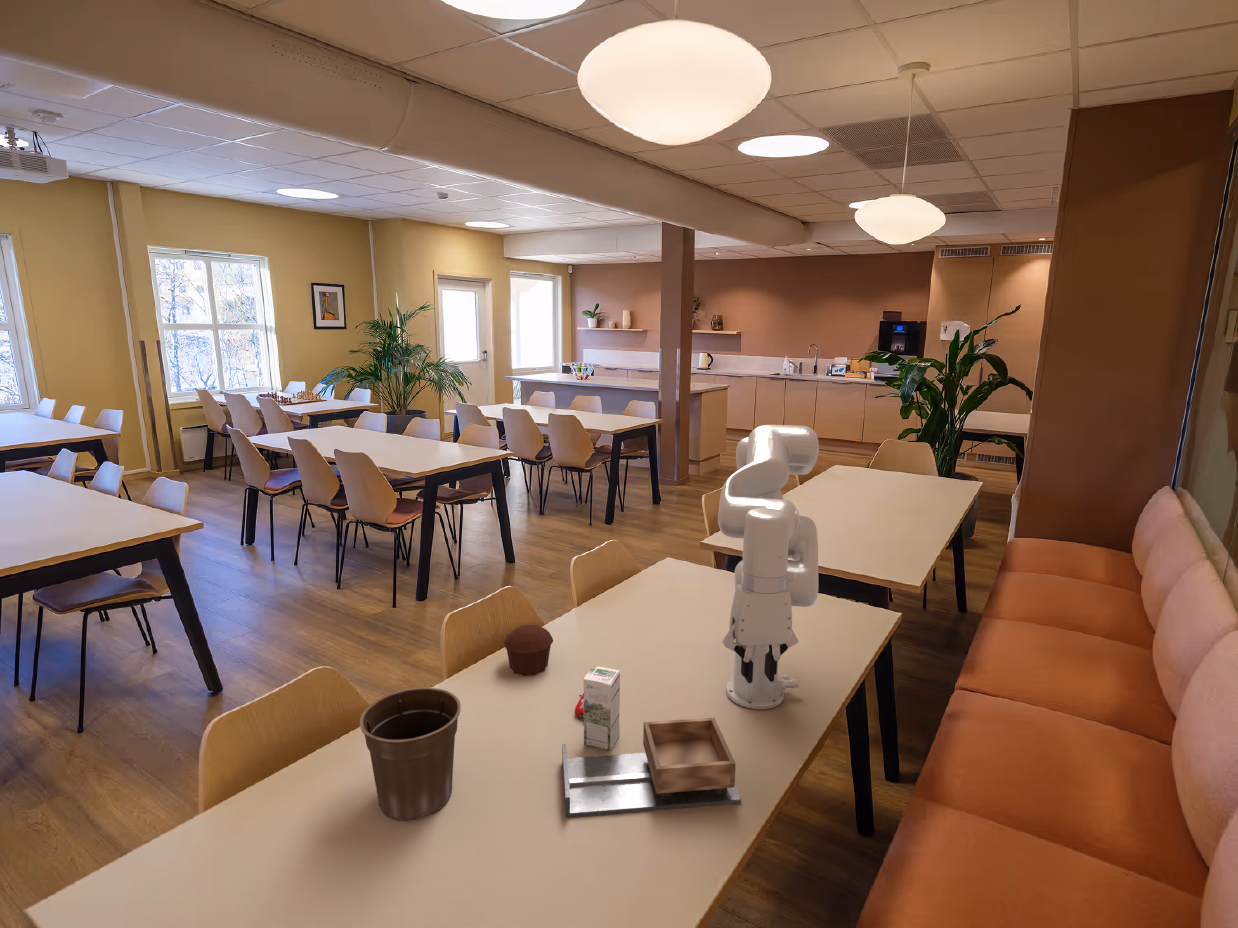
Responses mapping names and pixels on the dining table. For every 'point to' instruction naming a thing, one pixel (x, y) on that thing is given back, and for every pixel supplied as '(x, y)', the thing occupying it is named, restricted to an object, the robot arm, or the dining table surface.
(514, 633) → the muffin
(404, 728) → the plant pot
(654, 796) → the track
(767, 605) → the robot arm
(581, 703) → the race car
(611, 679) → the syrup box
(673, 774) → the open wooden crate
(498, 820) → the dining table surface
